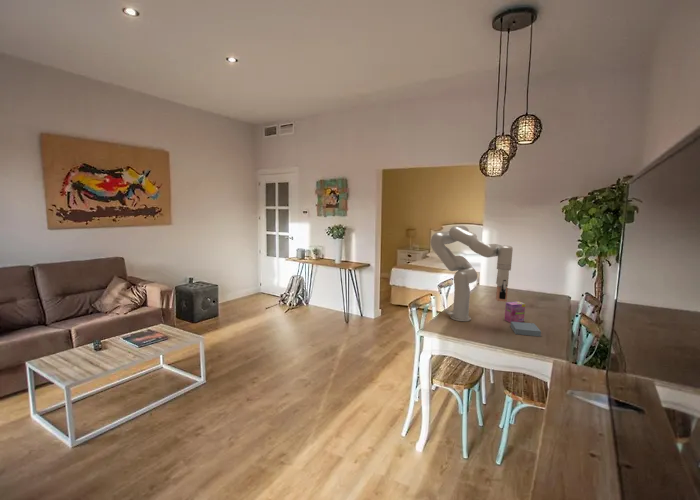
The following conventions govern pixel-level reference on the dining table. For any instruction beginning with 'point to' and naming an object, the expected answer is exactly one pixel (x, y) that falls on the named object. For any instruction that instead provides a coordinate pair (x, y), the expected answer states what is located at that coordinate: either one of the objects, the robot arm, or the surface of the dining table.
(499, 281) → the robot arm
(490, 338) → the dining table surface
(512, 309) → the box
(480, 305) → the dining table surface
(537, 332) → the base
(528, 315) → the dining table surface
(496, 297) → the block
